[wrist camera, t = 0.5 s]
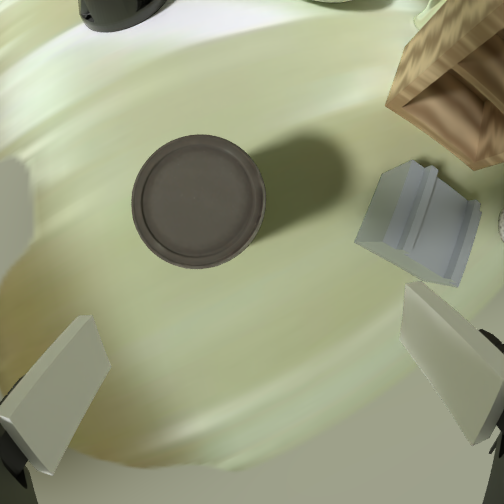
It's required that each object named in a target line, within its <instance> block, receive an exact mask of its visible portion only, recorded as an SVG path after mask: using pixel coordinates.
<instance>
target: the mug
mask: <svg viewBox="0 0 504 504" xmlns="http://www.w3.org/2000/svg"><path fill="white" fill-rule="evenodd" d="M498 228H499V234H500V237H501V239H502V241H503V242H504V208H503V209H502V211H501V213H500V215H499V220H498Z"/></svg>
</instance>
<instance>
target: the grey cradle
mask: <svg viewBox="0 0 504 504" xmlns="http://www.w3.org/2000/svg"><path fill="white" fill-rule="evenodd" d="M437 173H438V169H436V168H435V167H434V166H432V165H431V166H428V167H426V168H424V167H423V166H421V165H420V164H418V163H417V162H415V161H414V160H410V161H408V162H406V163H404V164H402V165H400V166H398V167H395V168H393V169H391V170H389V171H387V172H385V173H383V174H382V175H381V178H380V180H379V183H378V185H377V188H376V191H375V193H374V196H373V198H372V201H371V203H370V206H369V208H368V211H367V213H366V215H365V218H364V220H363V223H362V225H361V227H360V230H359V232H358V235H357V237H356V239H355V242H354V243H356V244H358V245H360V246H362V247H364V248H366V249H367V250H369V251H371V252H373V253H375V254H376V255H378V256H380V257H382V258H384V259H385V260H387V261H389V262H391V263H393V264H394V265H396V266H398V267H400V268H401V269H403V270H405V271H407V272H408V273H410V274H412V275H414V276H415V277H417V278H419V279H421V280H422V281H426V282H431V283H437V284H442V285H447V286H452V287H458V286H459V284H460V281H461V278H462V275H463V273H464V270H465V267H466V264H467V261H468V258H469V255H470V252H471V249H472V245H473V242H474V239H475V235H476V232H477V228H478V225H479V221H480V217H481V214H482V212H481V211H480V210H479V209H480V205H481V203H479V202H478V201H477V200H476V199H475V200H470V201H468V200H466V199H465V198H464V197H463V196H461V195H460V194H459V193H458V192H456V191H455V190H454V189H453V188H451V187H450V186H449V185H447V184H446V183H445V182H443V181H442V180H441V179H439V178H438V177H437Z"/></svg>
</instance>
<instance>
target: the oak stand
mask: <svg viewBox="0 0 504 504" xmlns="http://www.w3.org/2000/svg"><path fill="white" fill-rule="evenodd" d="M385 106H386V107H387V108H389V109H390V110H392V111H394V112H395V113H397V114H398V115H400V116H401V117H403V118H404V119H406V120H407V121H409V122H410V123H412V124H413V125H415V126H416V127H418V128H419V129H420V130H422V131H423V132H425V133H426V134H428V135H429V136H430V137H432V138H433V139H434V140H436V141H437V142H438V143H440V144H441V145H442V146H444V147H445V148H446V149H448V150H449V151H450V152H451V153H453V154H454V155H455V156H456V157H458V158H459V159H460V160H461V161H463V162H464V163H465V164H466V165H467V166H469V167H470V168H471V169H472V170H473V171H475V170H479V169H482V168H486V167H489V166H492V165H496V164H499V163H502V162H504V0H447V1H446V2H445V3H444V4H443V5H442V6H441V7H440V9H439V10H438V11H437V12H436V13H435V14H434V15H433V16H432V17H431V18H430V20H429V21H428V22H427V23H426V24H425V25H424V26H423V27H422V28H421V29H420V31H419V32H418V33H417V34H416V35H415V36H414V37H413V38H412V39H411V41H410V42H409V43H408V44H407V45H406V46H405V48H404V51H403V54H402V57H401V60H400V63H399V66H398V69H397V72H396V75H395V78H394V81H393V84H392V87H391V90H390V93H389V96H388V98H387V101H386V104H385Z"/></svg>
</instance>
